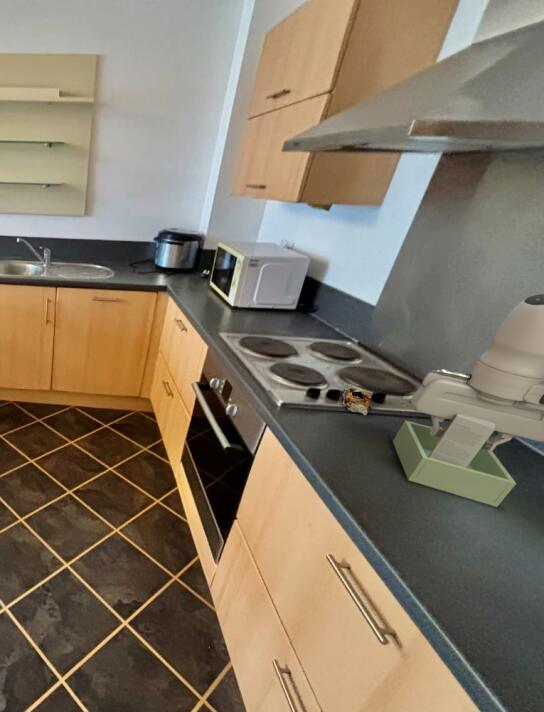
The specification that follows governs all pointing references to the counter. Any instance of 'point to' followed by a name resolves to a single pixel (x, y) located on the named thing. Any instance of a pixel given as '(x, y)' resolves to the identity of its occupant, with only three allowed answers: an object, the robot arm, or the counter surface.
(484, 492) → the sorting bin
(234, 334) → the counter surface
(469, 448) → the small box
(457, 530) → the counter surface
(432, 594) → the counter surface
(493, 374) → the robot arm
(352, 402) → the pastry
